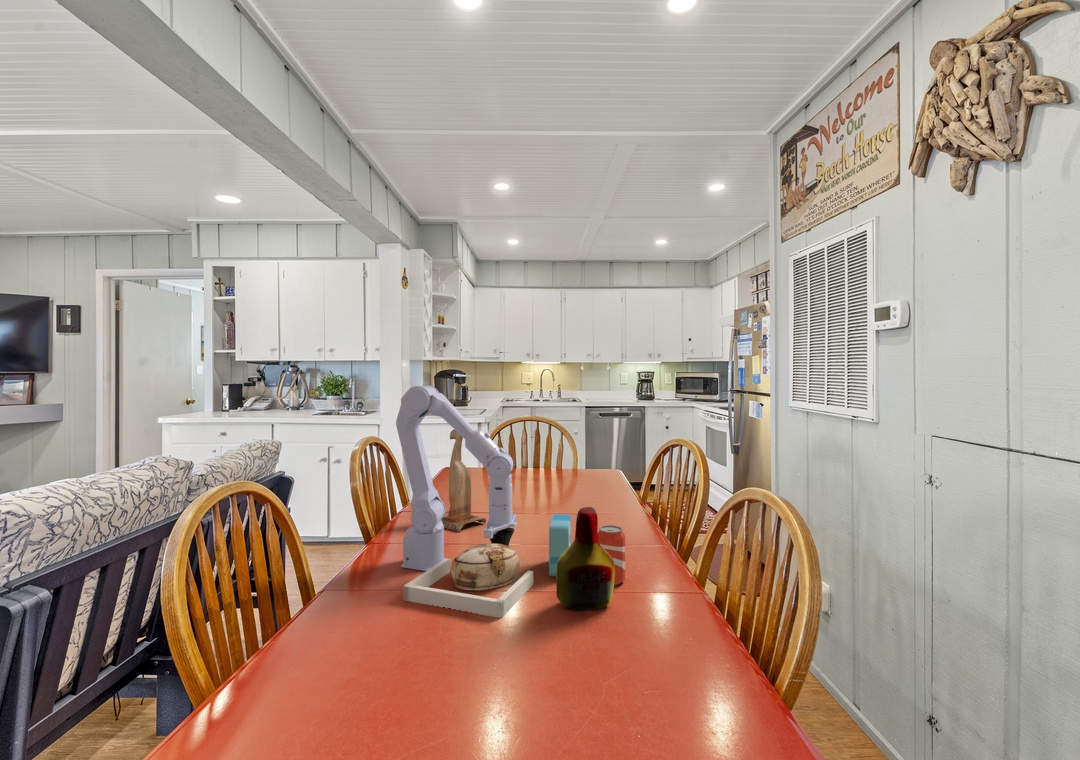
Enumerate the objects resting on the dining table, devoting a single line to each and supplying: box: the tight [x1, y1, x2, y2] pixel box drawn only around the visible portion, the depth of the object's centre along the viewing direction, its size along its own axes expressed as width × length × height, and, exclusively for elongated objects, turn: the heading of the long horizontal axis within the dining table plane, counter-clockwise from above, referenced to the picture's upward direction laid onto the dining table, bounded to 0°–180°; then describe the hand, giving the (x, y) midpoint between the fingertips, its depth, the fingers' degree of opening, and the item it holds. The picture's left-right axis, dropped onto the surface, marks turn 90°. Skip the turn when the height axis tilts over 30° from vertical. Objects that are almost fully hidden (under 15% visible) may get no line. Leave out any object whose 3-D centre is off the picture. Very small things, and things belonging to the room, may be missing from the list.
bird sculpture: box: [442, 428, 487, 533], centre depth 161 cm, size 11×12×32 cm
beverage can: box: [598, 524, 626, 586], centre depth 118 cm, size 6×6×12 cm
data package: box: [548, 513, 572, 578], centre depth 125 cm, size 12×4×12 cm, turn 174°
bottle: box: [555, 506, 615, 610], centre depth 105 cm, size 12×6×20 cm, turn 90°
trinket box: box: [450, 542, 520, 591], centre depth 118 cm, size 13×15×8 cm
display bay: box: [402, 558, 534, 619], centre depth 112 cm, size 22×17×3 cm
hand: (500, 559), depth 126 cm, fingers closed
